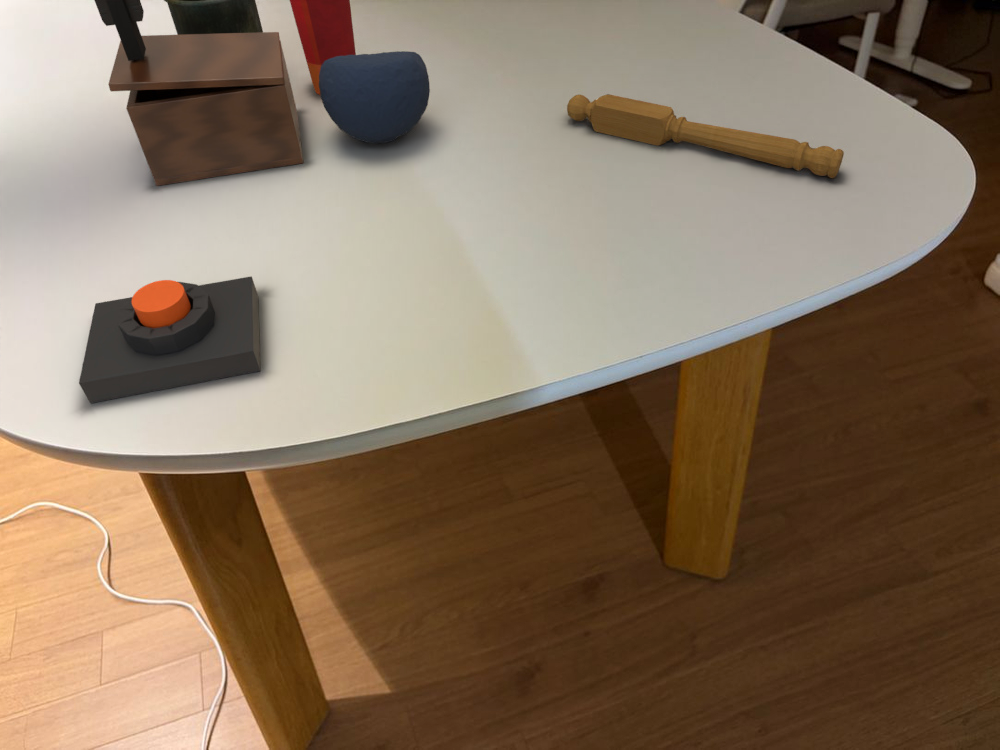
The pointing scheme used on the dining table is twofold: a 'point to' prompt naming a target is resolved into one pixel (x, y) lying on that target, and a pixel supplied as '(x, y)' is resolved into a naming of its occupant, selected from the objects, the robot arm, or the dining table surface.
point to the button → (161, 303)
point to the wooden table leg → (698, 133)
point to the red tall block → (323, 32)
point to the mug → (214, 16)
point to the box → (216, 129)
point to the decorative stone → (375, 93)
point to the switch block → (173, 343)
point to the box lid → (201, 62)
